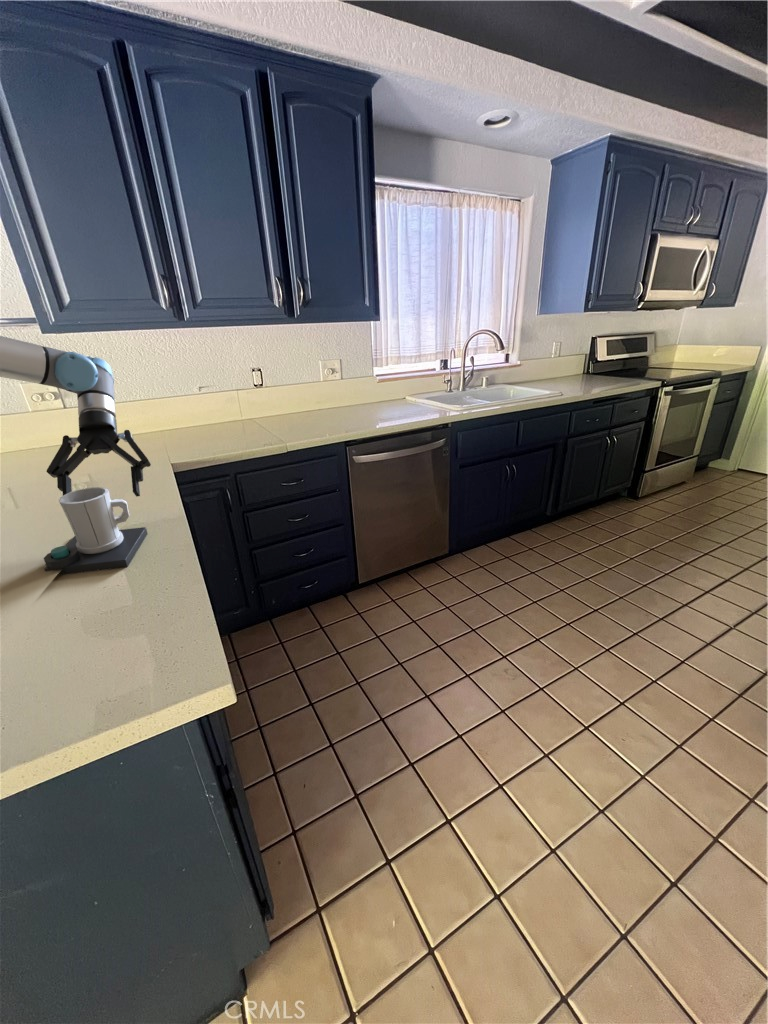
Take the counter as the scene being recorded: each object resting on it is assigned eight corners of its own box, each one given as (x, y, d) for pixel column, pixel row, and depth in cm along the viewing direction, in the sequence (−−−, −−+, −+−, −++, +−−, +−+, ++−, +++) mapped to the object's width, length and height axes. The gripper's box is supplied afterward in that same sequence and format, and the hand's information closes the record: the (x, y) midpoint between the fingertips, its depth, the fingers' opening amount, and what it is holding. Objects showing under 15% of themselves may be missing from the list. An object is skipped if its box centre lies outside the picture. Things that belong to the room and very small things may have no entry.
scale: (44, 578, 86) (38, 563, 84) (77, 541, 99) (72, 528, 98) (127, 568, 89) (122, 553, 87) (147, 534, 102) (144, 520, 101)
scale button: (50, 560, 86) (47, 553, 85) (57, 553, 89) (54, 546, 88) (66, 558, 87) (63, 551, 86) (72, 551, 89) (69, 545, 88)
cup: (112, 529, 101) (97, 481, 95) (140, 535, 97) (125, 487, 92) (68, 550, 92) (48, 499, 87) (97, 558, 89) (78, 506, 84)
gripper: (158, 421, 109) (167, 496, 103) (44, 431, 102) (45, 513, 95) (150, 404, 102) (159, 483, 96) (27, 413, 95) (27, 500, 89)
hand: (102, 498), depth 96 cm, fingers open, 13 cm apart
